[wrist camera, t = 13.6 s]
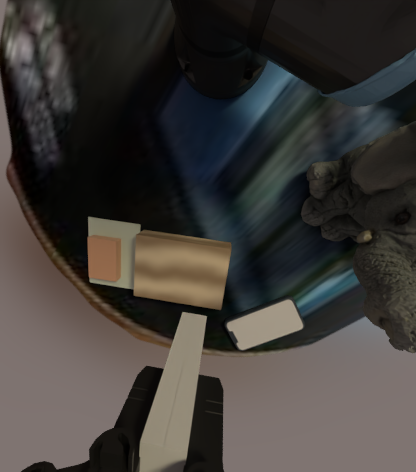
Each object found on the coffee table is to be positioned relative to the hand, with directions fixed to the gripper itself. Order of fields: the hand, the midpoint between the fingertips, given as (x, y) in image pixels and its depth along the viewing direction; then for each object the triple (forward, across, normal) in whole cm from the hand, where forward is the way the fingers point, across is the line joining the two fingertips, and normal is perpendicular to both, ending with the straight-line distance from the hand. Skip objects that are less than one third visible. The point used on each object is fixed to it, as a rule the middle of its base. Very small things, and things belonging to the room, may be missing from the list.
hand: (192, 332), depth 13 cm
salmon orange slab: (+27, -22, -10) cm, 36 cm away
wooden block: (+29, -6, -9) cm, 31 cm away
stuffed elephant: (+30, +23, +10) cm, 39 cm away
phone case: (+30, +14, -20) cm, 38 cm away
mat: (+29, -21, -9) cm, 37 cm away
